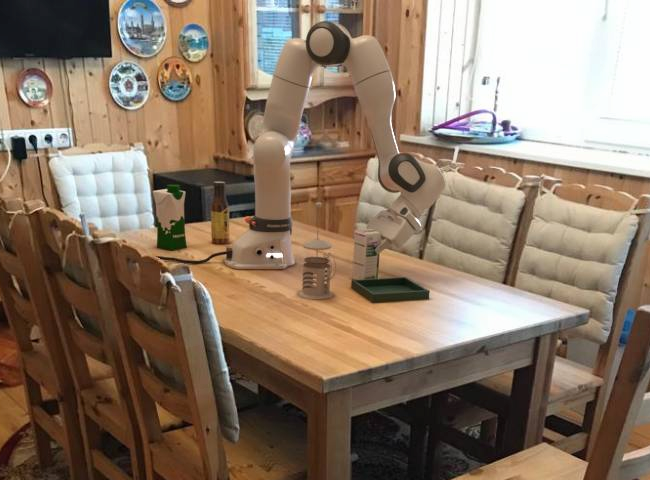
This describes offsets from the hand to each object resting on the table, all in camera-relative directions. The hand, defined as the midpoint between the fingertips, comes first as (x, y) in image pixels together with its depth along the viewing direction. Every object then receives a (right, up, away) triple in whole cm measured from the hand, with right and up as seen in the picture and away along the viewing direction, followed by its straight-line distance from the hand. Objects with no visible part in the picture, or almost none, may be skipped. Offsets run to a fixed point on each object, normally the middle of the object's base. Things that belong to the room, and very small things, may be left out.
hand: (370, 249), depth 244 cm
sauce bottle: (-50, +14, +40) cm, 66 cm away
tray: (+5, -15, -9) cm, 18 cm away
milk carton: (-65, +10, +31) cm, 73 cm away
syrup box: (-2, -8, +4) cm, 9 cm away
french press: (-16, -17, -13) cm, 27 cm away
